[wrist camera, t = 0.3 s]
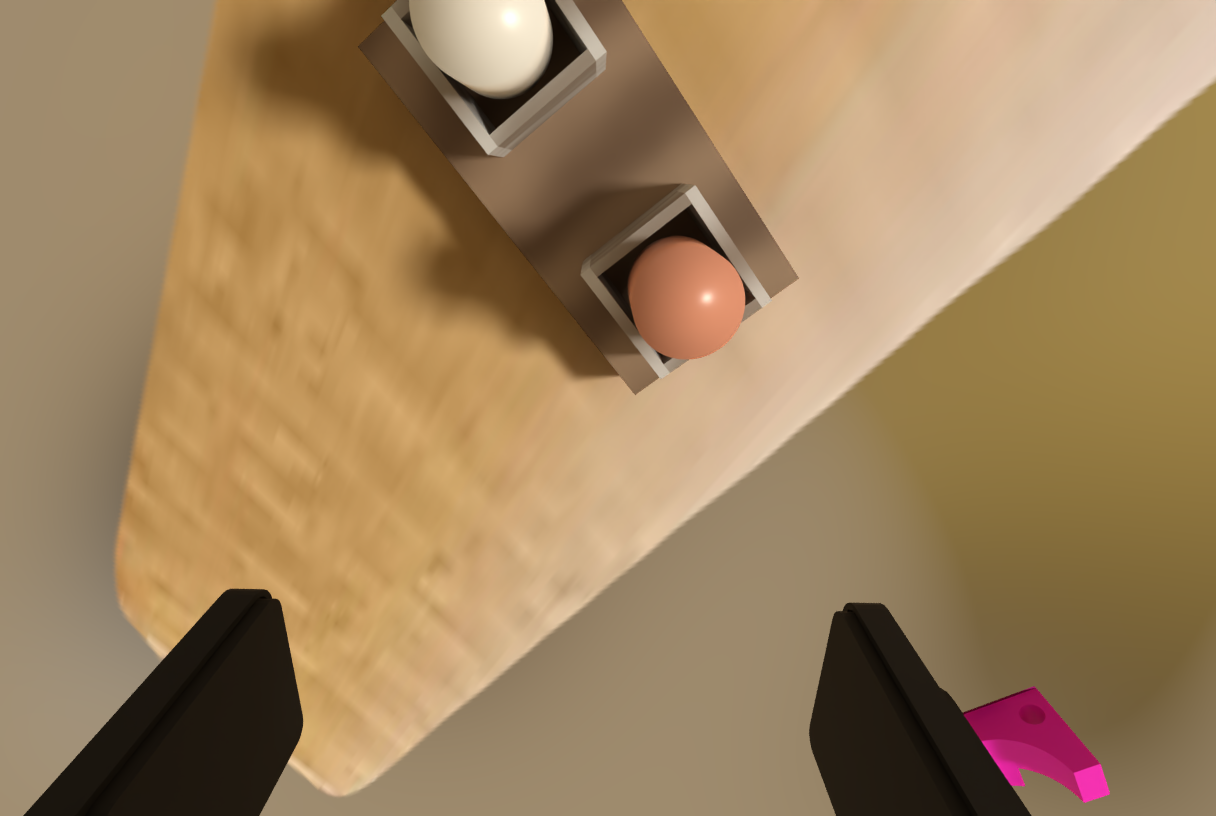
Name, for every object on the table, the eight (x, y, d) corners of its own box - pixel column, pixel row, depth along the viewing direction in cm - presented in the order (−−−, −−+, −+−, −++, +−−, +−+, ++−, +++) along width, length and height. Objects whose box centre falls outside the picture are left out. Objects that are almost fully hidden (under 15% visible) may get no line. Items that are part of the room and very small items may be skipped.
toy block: (892, 788, 57) (933, 873, 50) (871, 746, 55) (910, 828, 48) (1050, 732, 55) (1116, 813, 48) (1034, 686, 53) (1100, 763, 46)
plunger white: (418, 25, 27) (380, -6, 22) (503, -57, 26) (482, -108, 21) (492, 123, 28) (471, 113, 24) (575, 49, 27) (570, 24, 23)
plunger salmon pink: (608, 276, 31) (609, 294, 27) (687, 214, 30) (703, 222, 25) (663, 350, 33) (674, 380, 28) (742, 294, 32) (766, 315, 27)
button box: (383, 59, 35) (315, 24, 26) (545, -96, 32) (526, -190, 24) (631, 375, 42) (639, 425, 33) (780, 268, 39) (829, 294, 31)
